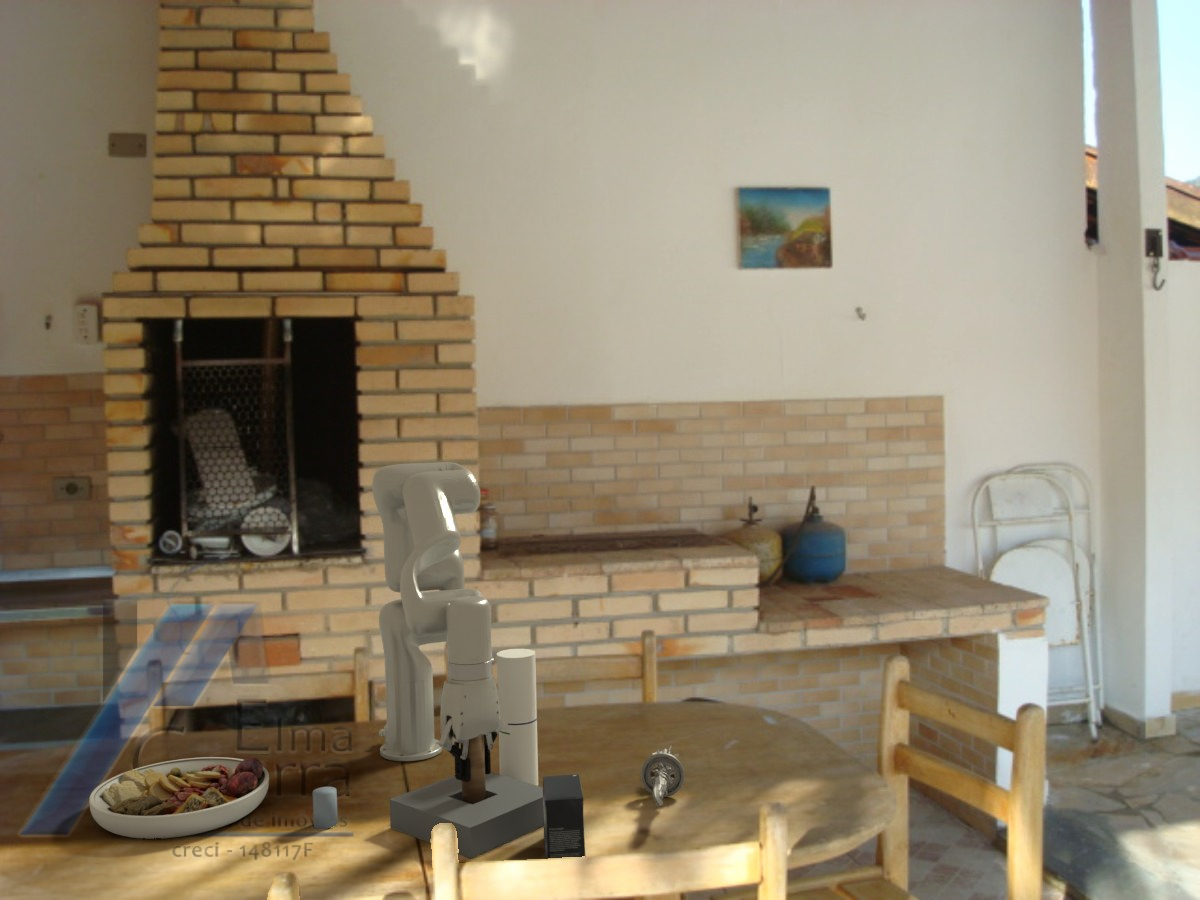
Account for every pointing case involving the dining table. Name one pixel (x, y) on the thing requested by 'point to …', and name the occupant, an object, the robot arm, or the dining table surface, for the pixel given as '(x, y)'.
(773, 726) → the dining table surface
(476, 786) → the long pin
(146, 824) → the bowl
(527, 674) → the cylindrical container
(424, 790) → the collar block
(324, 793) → the short pin
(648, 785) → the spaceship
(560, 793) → the small box
